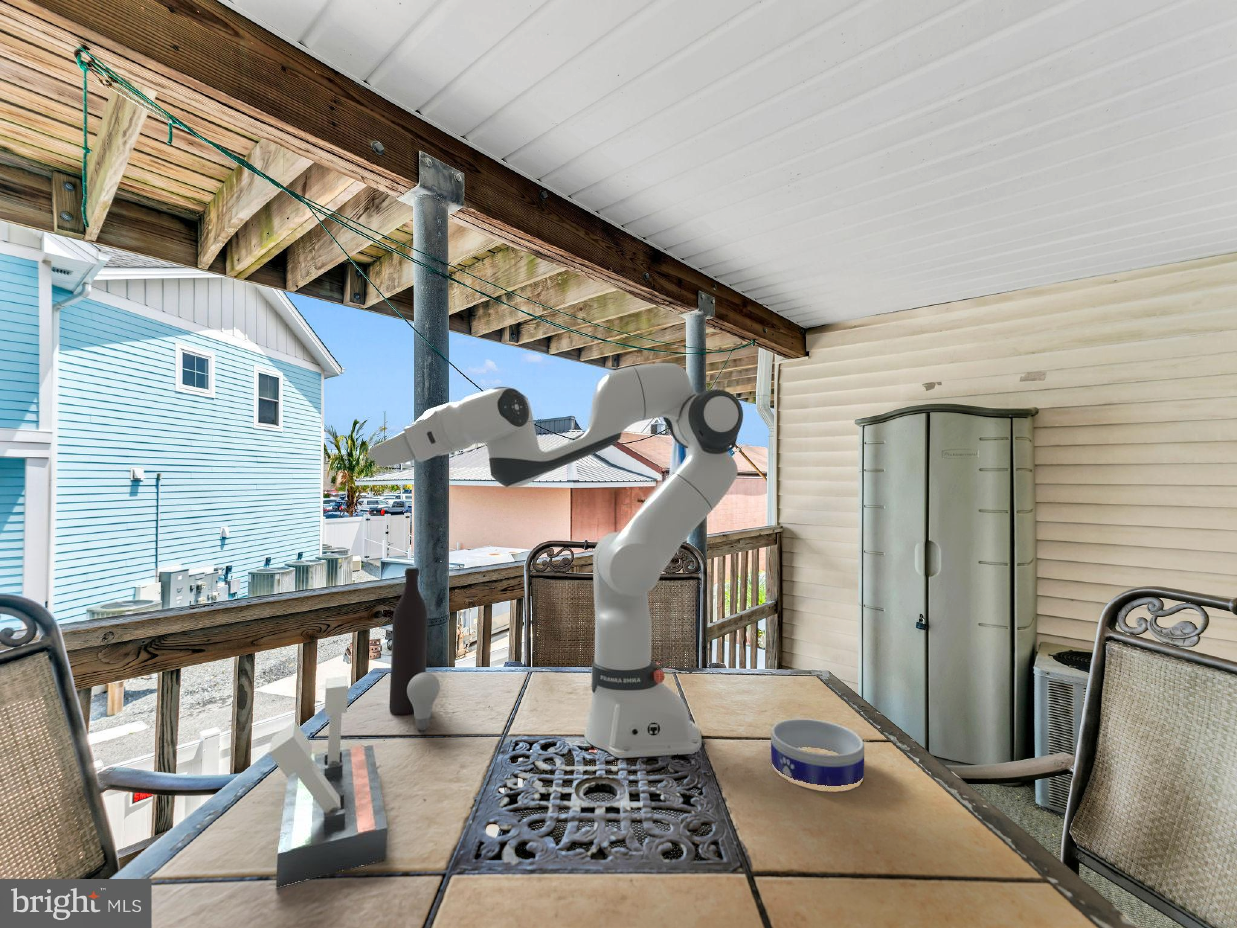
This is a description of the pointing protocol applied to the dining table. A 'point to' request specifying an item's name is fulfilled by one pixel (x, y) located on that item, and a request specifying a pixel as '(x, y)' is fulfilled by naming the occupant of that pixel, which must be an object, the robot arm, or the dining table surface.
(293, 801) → the breaker box
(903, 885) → the dining table surface
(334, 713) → the lever
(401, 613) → the wine bottle
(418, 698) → the lightbulb
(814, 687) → the dining table surface
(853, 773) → the dog bowl
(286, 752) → the on lever
